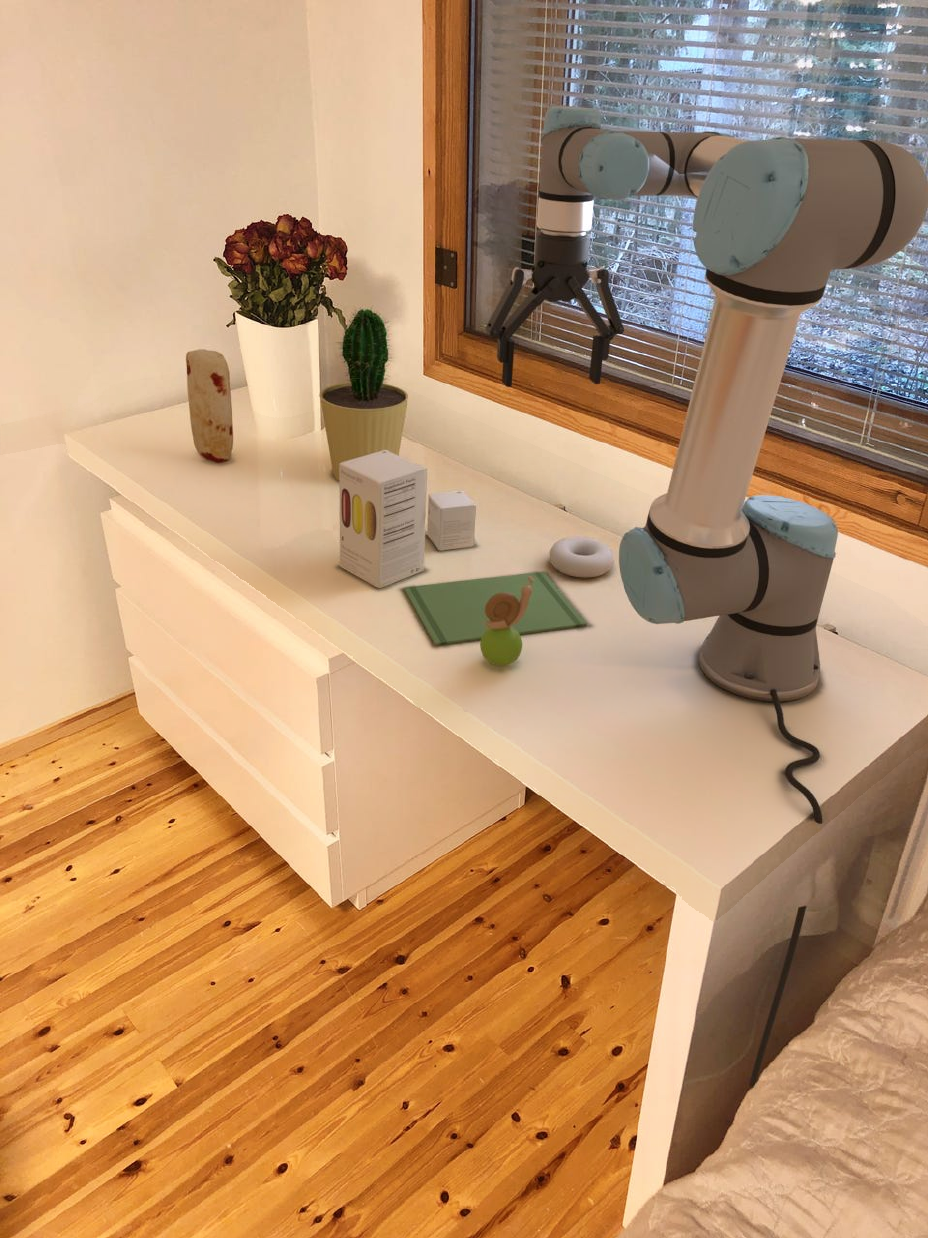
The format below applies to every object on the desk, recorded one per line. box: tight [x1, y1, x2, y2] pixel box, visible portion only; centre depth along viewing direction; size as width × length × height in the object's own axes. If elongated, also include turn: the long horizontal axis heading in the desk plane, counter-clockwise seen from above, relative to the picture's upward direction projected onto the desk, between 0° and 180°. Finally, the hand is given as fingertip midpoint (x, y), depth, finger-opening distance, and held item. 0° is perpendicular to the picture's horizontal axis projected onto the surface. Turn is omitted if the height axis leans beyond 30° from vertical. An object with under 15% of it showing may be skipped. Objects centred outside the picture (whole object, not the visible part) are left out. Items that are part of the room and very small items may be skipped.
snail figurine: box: [479, 576, 534, 667], centre depth 133 cm, size 5×6×12 cm
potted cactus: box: [318, 305, 409, 482], centre depth 181 cm, size 15×15×30 cm
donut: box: [548, 536, 615, 579], centre depth 160 cm, size 10×4×10 cm
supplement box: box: [339, 450, 428, 589], centre depth 153 cm, size 10×9×17 cm
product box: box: [426, 490, 477, 552], centre depth 165 cm, size 6×6×7 cm
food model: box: [185, 348, 234, 464], centre depth 187 cm, size 10×7×20 cm
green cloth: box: [403, 571, 587, 646], centre depth 148 cm, size 16×22×1 cm
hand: (550, 382), depth 154 cm, fingers open, 13 cm apart
